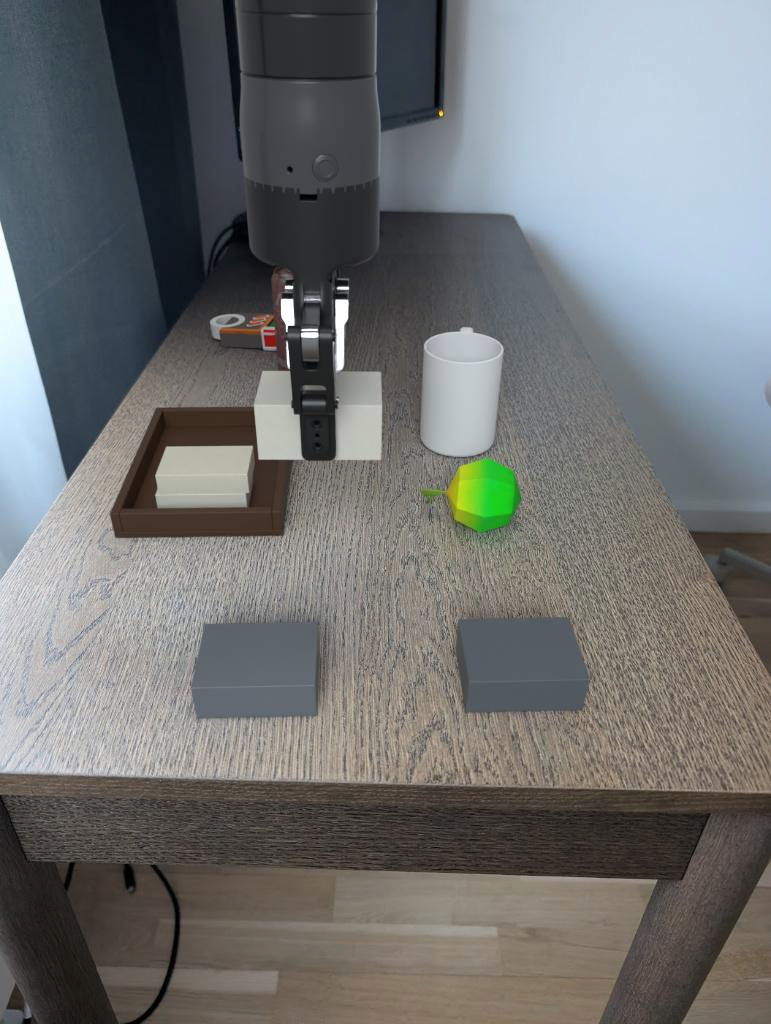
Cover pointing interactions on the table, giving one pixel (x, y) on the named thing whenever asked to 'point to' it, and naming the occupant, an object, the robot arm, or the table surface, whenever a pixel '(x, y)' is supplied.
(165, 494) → the cream layered block
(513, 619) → the pair of grey blocks
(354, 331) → the table surface
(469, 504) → the apple
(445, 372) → the mug
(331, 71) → the robot arm
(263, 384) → the cream rectangular block
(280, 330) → the can
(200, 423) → the tray
